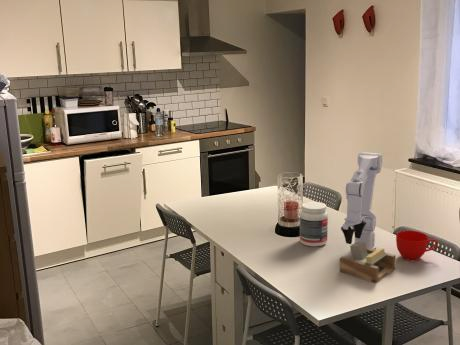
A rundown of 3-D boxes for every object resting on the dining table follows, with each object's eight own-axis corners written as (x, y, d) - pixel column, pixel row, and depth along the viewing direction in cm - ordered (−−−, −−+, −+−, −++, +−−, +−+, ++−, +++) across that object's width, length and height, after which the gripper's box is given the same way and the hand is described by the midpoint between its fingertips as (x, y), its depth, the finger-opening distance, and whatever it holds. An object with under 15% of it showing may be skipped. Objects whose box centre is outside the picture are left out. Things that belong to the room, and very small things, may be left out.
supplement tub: (329, 247, 234) (330, 209, 230) (301, 248, 235) (301, 209, 230) (325, 237, 247) (325, 200, 242) (298, 237, 247) (298, 201, 243)
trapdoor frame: (359, 258, 222) (360, 245, 220) (394, 268, 211) (395, 255, 209) (339, 271, 210) (339, 257, 208) (375, 282, 199) (376, 268, 198)
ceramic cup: (439, 265, 213) (441, 242, 210) (396, 263, 216) (398, 240, 214) (433, 252, 225) (435, 231, 223) (393, 250, 229) (394, 229, 226)
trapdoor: (362, 256, 218) (360, 249, 217) (386, 255, 210) (384, 248, 210) (348, 265, 209) (346, 258, 209) (372, 264, 201) (370, 257, 201)
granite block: (358, 256, 214) (355, 242, 214) (368, 256, 211) (364, 242, 211) (353, 259, 211) (350, 245, 211) (362, 259, 208) (359, 245, 208)
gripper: (354, 203, 219) (353, 233, 222) (336, 212, 208) (335, 243, 212) (369, 206, 214) (368, 237, 218) (352, 216, 204) (351, 247, 207)
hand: (353, 240), depth 214 cm, fingers open, 7 cm apart
